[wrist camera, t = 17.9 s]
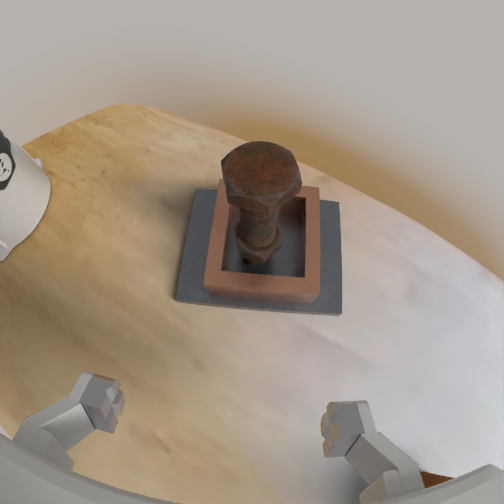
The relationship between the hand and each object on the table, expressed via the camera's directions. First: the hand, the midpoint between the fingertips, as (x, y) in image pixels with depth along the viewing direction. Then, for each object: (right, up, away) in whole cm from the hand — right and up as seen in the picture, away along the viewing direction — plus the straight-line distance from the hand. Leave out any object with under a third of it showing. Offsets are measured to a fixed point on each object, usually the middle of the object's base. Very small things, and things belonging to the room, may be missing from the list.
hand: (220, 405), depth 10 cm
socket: (+2, +6, +24) cm, 25 cm away
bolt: (+2, +5, +23) cm, 24 cm away
